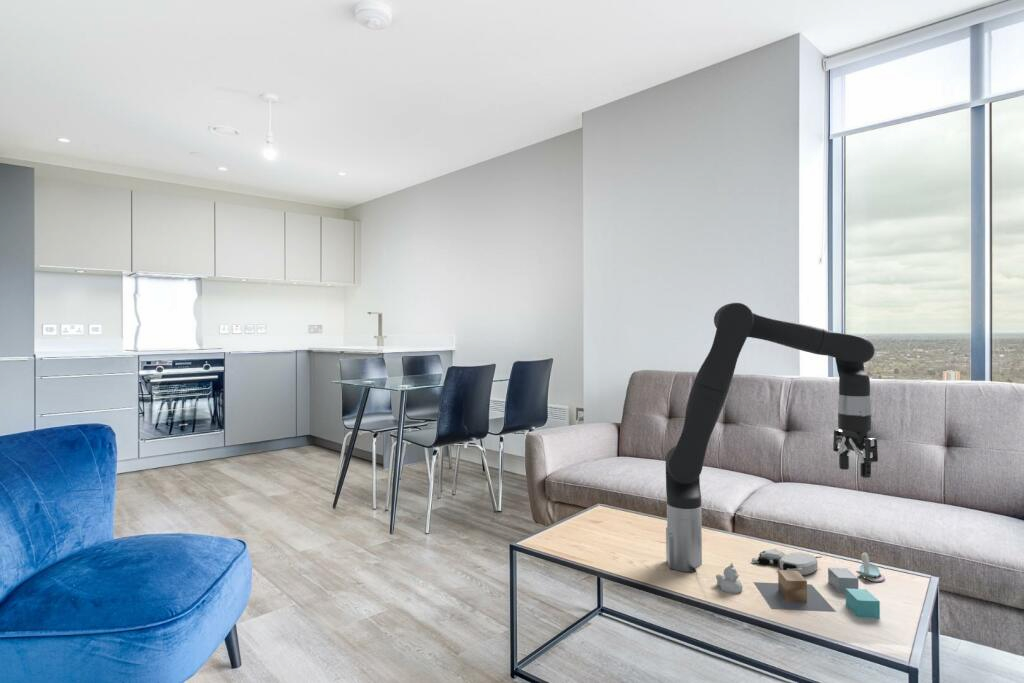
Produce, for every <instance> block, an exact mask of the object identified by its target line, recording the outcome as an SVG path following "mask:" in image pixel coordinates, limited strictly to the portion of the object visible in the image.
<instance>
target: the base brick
mask: <svg viewBox="0 0 1024 683" xmlns="http://www.w3.org/2000/svg"><path fill="white" fill-rule="evenodd" d="M777 572H778V573H777V575H778V576H777V577H778V578H777V580H778V582H777V583H778V590H779V592H780V593H781V594H782V595H783V597H784V598H785V599H786V601H788V602H807V584H808V580H806V578H805V577H804V575H801V574H800V573H799V572H798V571H794V570H781V569H778V570H777Z"/></svg>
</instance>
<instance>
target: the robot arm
mask: <svg viewBox="0 0 1024 683" xmlns="http://www.w3.org/2000/svg"><path fill="white" fill-rule="evenodd" d="M713 323H714V326H715V329H716V330H715V335H714V337H713V341H712V345H711V347H710V349H709V352H708V354H707V356H706V358H705V359H704V361H703V363H702V364H701V366H700V368H699V370H698V372H697V374H696V376H695V379H694V380H693V384H692V387H691V388H690V392H689V396H688V400H687V403H686V404H687V405H686V408H685V409H686V410H685V416H684V422H683V427H682V431H681V433H680V437H679V438H678V441H677V443H676V446H673V447H671V449H669V450H668V452H667V454H666V456H665V492H666V522H667V523H666V526H667V527H665V544H666V545H665V550H666V552H665V553H666V554H665V555H666V556H665V558H666V563H667V566H668V568H669V569H670V570H676V571H680V572H684V573H686V572H688V573H691V572H697V569H696V568H700V567H701V566H702V565H703V543H702V542H703V540H702V534H703V533H702V531H703V530H702V528H703V527H702V524H703V522H702V494H701V484H700V482H701V481H700V480H701V479H700V476H701V473H702V471H703V466H704V461H705V457H706V453H707V451H708V450H707V448H708V444H709V441H710V439H711V436H712V434H713V431H714V429H715V426H716V425H717V422H718V420H719V417H720V415H721V413H722V410H723V407H724V404H725V403H726V399H727V396H728V393H729V390H730V387H731V383H732V380H733V377H734V373H735V370H736V366H737V362H738V359H739V356H740V353H741V351H742V349H743V347H744V345H745V343H746V340H747V338H752V339H758V340H764V341H768V342H771V343H774V344H777V345H778V344H779V345H781V346H784V347H789V348H791V349H794V350H798V351H802V352H806V353H810V354H814V355H820V356H827V357H832V358H835V364H836V369H837V374H838V376H839V377H838V378H839V379H838V400H837V427H838V429H834V431H833V442H832V443H833V451H834V452H836V453H837V455H838V456H839V457H838V465H839V466H838V467H839V469H840V470H841V471H842V470H843V471H844V470H846V471H847V470H850V462H849V461H850V460H849V459H850V456H849V454H850V452H851V451H853V452H854V454H855V455H856V456H858V458H859V461H860V468H859V470H860V471H859V472H860V477H861V478H865V479H867V478H871V475H872V463H877V462H878V461H879V459H878V458H879V457H878V456H879V455H878V452H879V451H878V439H877V438H875V437H868V432H870V431H871V430H872V402H871V381H870V376H869V375H868V373H866V372H865V364H866V363H868V362H870V360H871V359H872V358H873V357H874V356H875V347H874V345H873V343H872V342H871V341H870V340H869V339H867V338H865V337H862V336H859V335H853V334H849V333H848V334H847V333H843V332H835V331H831V330H829V329H827V328H826V329H825V328H822V327H817V326H813V325H810V324H805V323H799V322H795V321H788V320H780V319H776V318H775V319H774V318H771V317H766V316H763V315H760V314H756V313H755V312H753V311H752V309H751V308H750V306H748V305H747V304H745V303H742V302H731V303H727V304H724V305H723V306H720V308H718V309H717V311H716V312H715V314H714V317H713ZM871 453H872V455H871Z"/></svg>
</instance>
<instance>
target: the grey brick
mask: <svg viewBox="0 0 1024 683" xmlns="http://www.w3.org/2000/svg"><path fill="white" fill-rule="evenodd" d="M827 581H828V584H830V585H831V587H833V588H834V590H836V592H838V594H839V593H840V594H841V593H842V594H846V588H848V589H859V577H858V576H857V575H855V574H854V573H853V572H852V571H851V570H850V569H849V568H847V567H827Z"/></svg>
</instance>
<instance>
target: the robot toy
mask: <svg viewBox="0 0 1024 683" xmlns="http://www.w3.org/2000/svg"><path fill="white" fill-rule="evenodd" d="M822 558H823V556H821V555H819V556H814V555H813V554H809V553H804V552H799V551H797V552H796V551H795V552H789V553H787V554H785V552H784V551H781V550H777V549H775V548H773V549H770V548H769V549H766V550H762V551H761V552H760V553H759V556H758V557H752V558H751V562H752V563H755V564H756V563H758V565H762V566H767V565H769V564H770V565H774V566H778V567H779V570H794V571H798V572H799V573H800V574H801V575H802V576H806V575H810V574H812V573H814V572H815V571H817V569H818V568H819V566H818V565H819V564H818V559H822Z"/></svg>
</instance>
